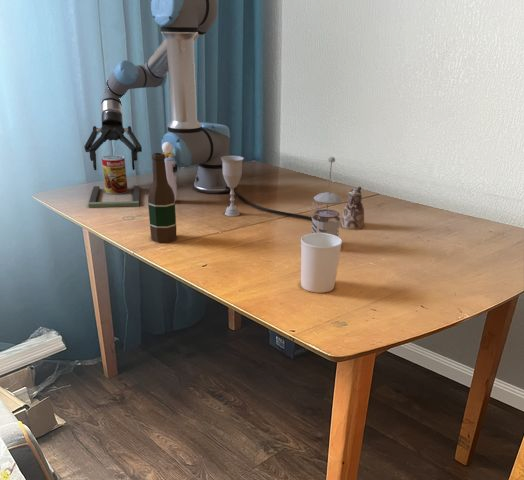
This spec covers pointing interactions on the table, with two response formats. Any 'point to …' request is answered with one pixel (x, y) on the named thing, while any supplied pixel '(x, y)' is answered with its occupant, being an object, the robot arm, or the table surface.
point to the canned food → (114, 174)
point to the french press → (326, 211)
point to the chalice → (232, 179)
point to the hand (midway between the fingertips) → (114, 168)
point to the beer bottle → (161, 203)
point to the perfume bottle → (170, 166)
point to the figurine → (353, 210)
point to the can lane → (94, 202)
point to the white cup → (319, 261)
